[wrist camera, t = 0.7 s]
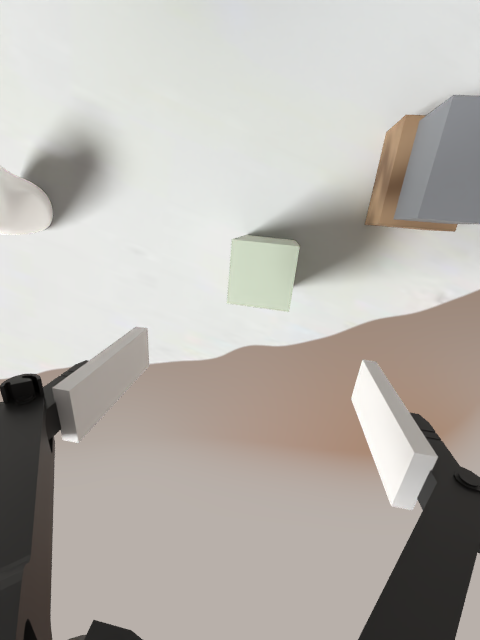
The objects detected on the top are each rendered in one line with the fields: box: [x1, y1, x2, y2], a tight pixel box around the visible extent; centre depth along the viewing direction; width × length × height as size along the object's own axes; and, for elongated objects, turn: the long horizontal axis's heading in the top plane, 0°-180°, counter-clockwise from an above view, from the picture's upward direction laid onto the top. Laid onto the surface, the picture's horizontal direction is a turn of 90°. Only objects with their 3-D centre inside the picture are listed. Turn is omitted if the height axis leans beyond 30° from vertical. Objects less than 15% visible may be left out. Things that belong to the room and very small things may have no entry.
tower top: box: [394, 95, 480, 224], centre depth 22 cm, size 8×5×5 cm, turn 176°
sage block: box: [227, 235, 300, 312], centre depth 29 cm, size 6×6×10 cm
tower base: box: [365, 115, 457, 231], centre depth 27 cm, size 9×7×5 cm
